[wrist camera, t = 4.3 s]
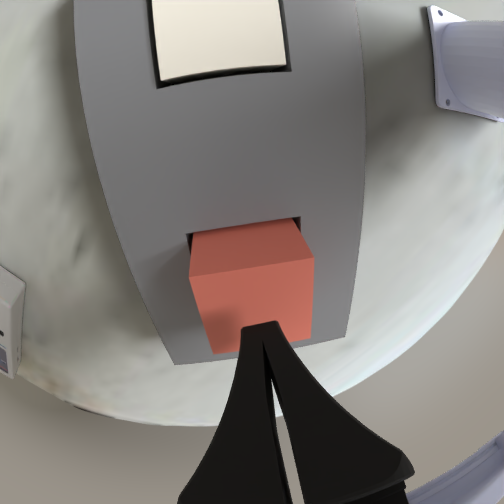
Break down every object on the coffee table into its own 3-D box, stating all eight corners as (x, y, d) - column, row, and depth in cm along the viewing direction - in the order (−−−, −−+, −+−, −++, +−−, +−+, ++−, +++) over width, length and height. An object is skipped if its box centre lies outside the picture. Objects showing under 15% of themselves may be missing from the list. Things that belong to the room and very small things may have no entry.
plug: (165, 6, 9) (150, -19, 6) (258, -5, 10) (272, -33, 6) (175, 84, 12) (160, 80, 9) (267, 71, 12) (286, 64, 9)
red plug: (194, 228, 14) (188, 277, 10) (289, 214, 14) (314, 257, 11) (211, 300, 16) (213, 354, 13) (292, 287, 17) (310, 338, 13)
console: (102, -31, 7) (77, -54, 4) (309, -56, 8) (333, -83, 4) (177, 324, 21) (174, 365, 18) (327, 300, 22) (345, 336, 18)
